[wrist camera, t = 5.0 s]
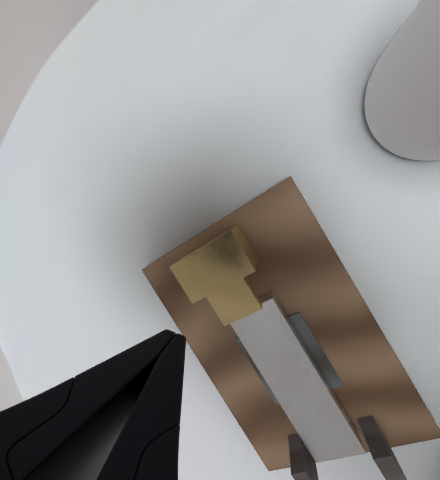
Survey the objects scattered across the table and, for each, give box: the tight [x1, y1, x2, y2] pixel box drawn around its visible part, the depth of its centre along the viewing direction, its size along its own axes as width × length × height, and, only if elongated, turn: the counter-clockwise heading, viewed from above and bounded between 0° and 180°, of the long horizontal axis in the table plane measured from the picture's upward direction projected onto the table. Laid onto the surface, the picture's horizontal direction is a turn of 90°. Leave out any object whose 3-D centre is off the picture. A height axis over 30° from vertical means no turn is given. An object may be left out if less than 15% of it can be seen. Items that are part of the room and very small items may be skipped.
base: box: [142, 176, 440, 480], centre depth 17 cm, size 23×15×4 cm, turn 32°
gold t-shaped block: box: [170, 225, 263, 326], centre depth 15 cm, size 6×5×3 cm
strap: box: [230, 292, 366, 463], centre depth 17 cm, size 14×4×1 cm, turn 32°
